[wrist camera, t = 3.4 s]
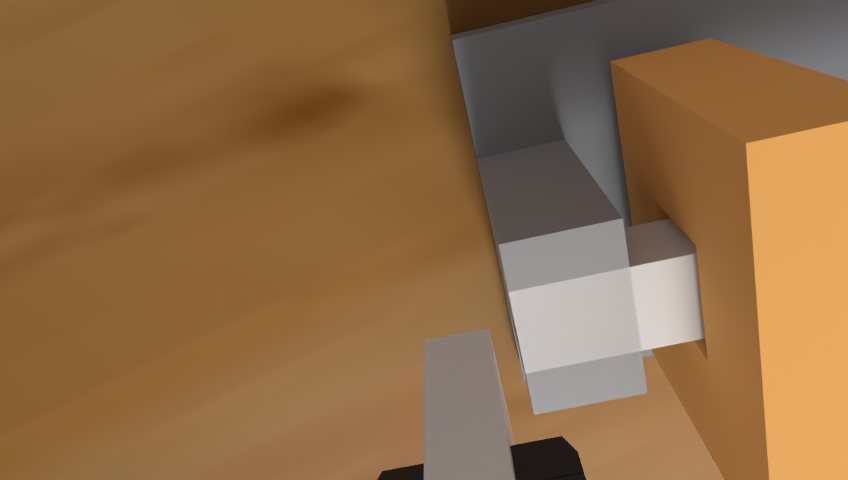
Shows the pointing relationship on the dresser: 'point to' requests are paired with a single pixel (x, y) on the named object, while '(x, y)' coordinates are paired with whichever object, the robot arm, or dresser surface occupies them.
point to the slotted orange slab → (750, 246)
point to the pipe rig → (600, 179)
